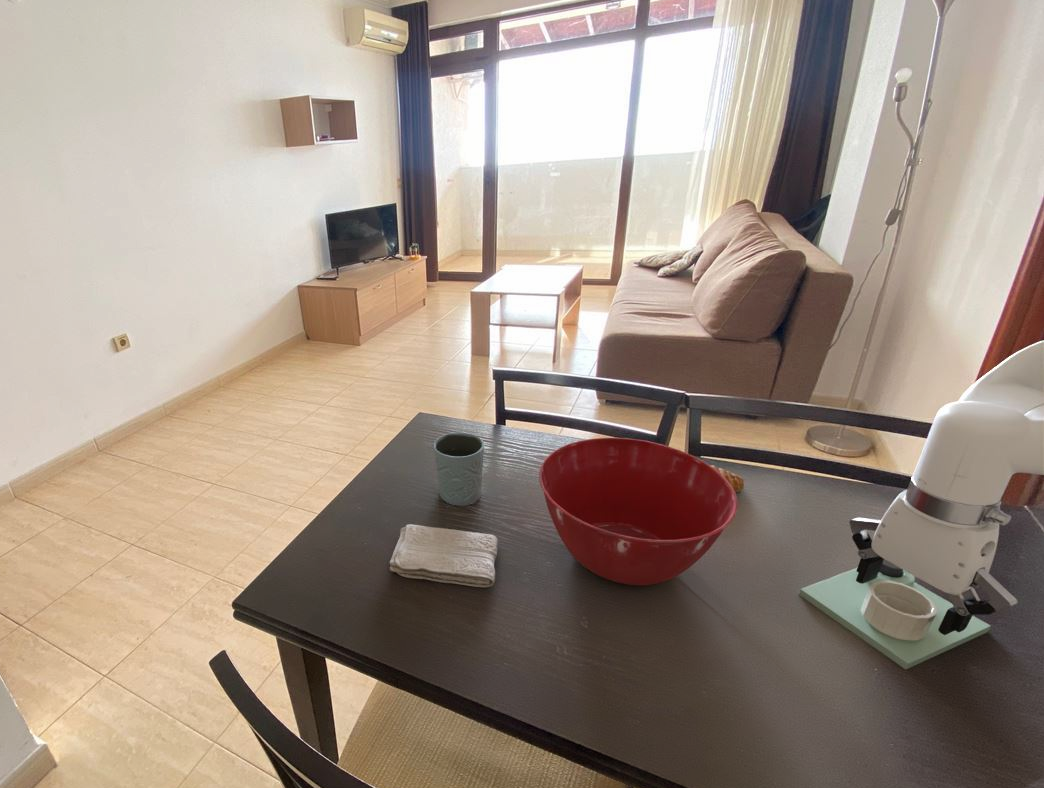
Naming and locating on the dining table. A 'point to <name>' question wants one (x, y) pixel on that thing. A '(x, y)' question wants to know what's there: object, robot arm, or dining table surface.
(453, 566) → the washcloth
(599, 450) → the mixing bowl
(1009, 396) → the robot arm
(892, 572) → the button
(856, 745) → the dining table surface
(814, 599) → the scale
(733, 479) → the pastry
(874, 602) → the bowl
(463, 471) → the grey green cup
